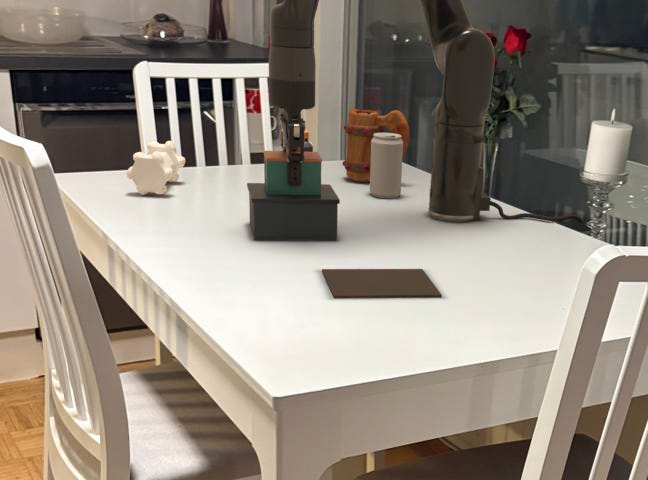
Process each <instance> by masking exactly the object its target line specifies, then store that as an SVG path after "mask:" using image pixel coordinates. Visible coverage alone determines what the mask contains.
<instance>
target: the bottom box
mask: <svg viewBox="0 0 648 480" xmlns="http://www.w3.org/2000/svg"><path fill="white" fill-rule="evenodd" d="M246 187H247V191H248V196H249V197H248V199H249V201H248V202H249V206H248V207H249V225H250V229H251V232H252V237H253V240H254V241H337V240H338V208H339V207H338V206H339V205H338V204H340V203H341V202H340V201H341V199H340V198H339V196H338V194H337V192H335V190H334V189H333V187H332V185H331V184H329V183H328V184H323V183H321V195H268V194H267V192H266V189H265V182H247V183H246Z"/></svg>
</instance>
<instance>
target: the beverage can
mask: <svg viewBox="0 0 648 480" xmlns="http://www.w3.org/2000/svg"><path fill="white" fill-rule="evenodd" d="M373 136H374V137H373V139H372V140H371V167H370V182H369V192H370V193H371V194H372V195H373V196H374V197H376V198H380V199H395V198H398V196H400V195H401V194H402V179H403V178H402V176H403V157H404V155H403V141H402V139H401V137H402V136H401V135H399V134H394V133H393V132H384V133H374V134H373ZM402 156H403V157H402Z"/></svg>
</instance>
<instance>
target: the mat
mask: <svg viewBox="0 0 648 480" xmlns="http://www.w3.org/2000/svg"><path fill="white" fill-rule="evenodd" d="M321 273H322V275H323V277H324V279H325V282H326V284H327V286H328V288H329V289H328V290H329V291H330V294H331V295H332V297H333V299H396V298H397V299H400V298H401V299H406V298H407V299H411V298H417V299H418V298H442V297H443V295H442V293H441V292H440V291H439V289H438V288H437V287H436V285H435V284H434V283H433V281H432V279H430V277H429V276H428V274H427V273H426V272H425V270H424V269H423V268H322V269H321Z"/></svg>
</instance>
